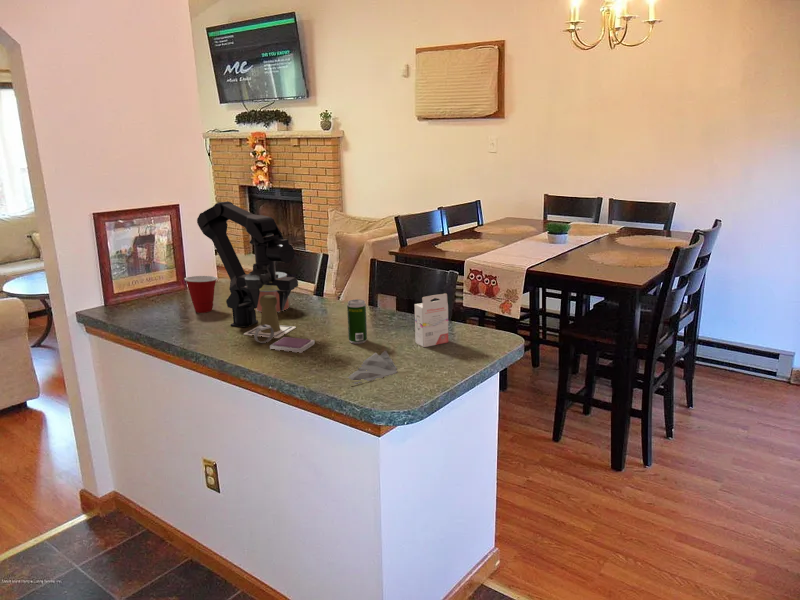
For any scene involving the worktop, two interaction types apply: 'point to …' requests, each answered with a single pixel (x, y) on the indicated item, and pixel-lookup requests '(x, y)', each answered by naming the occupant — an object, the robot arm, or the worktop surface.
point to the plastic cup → (201, 292)
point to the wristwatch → (263, 329)
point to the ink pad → (292, 344)
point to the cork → (269, 313)
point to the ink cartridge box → (431, 321)
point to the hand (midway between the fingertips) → (268, 309)
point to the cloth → (375, 368)
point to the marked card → (276, 334)
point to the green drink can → (357, 321)
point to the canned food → (272, 293)
